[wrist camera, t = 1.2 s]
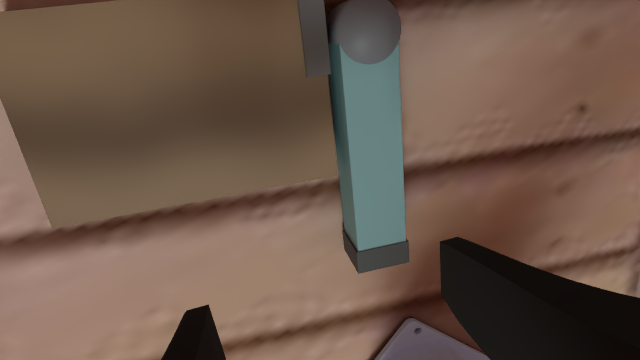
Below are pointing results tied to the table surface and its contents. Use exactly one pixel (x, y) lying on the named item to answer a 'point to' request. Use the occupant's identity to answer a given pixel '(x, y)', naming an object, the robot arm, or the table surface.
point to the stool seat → (166, 101)
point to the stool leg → (368, 130)
